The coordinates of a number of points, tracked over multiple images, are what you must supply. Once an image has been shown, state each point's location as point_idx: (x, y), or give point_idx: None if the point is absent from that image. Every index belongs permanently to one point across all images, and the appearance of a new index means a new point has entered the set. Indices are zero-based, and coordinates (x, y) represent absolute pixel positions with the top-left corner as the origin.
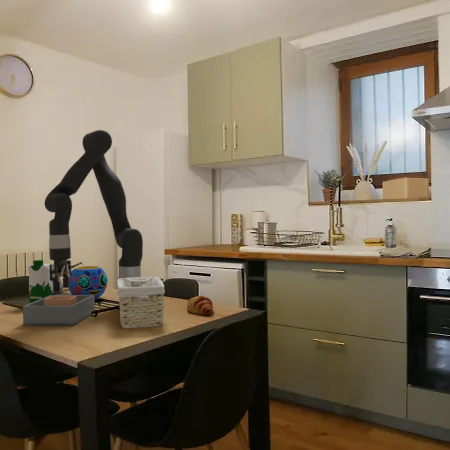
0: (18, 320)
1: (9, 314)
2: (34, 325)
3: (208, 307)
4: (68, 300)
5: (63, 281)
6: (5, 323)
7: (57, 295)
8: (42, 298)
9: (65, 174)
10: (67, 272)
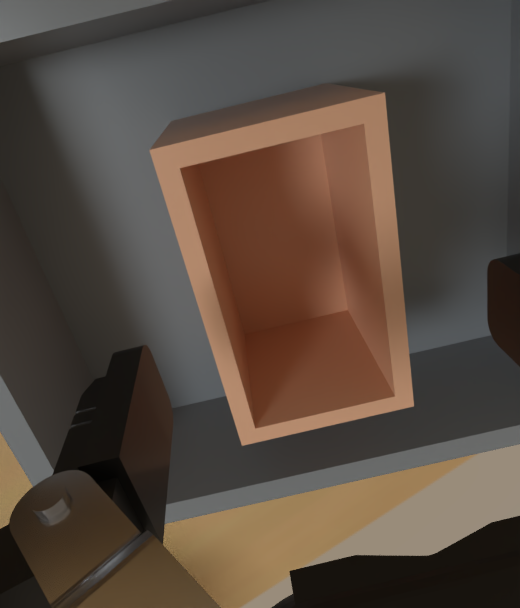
0: None
1: (233, 589)
2: None
3: None
4: (382, 122)
5: (164, 482)
6: (447, 468)
7: None
8: (239, 506)
9: None
10: (181, 573)
